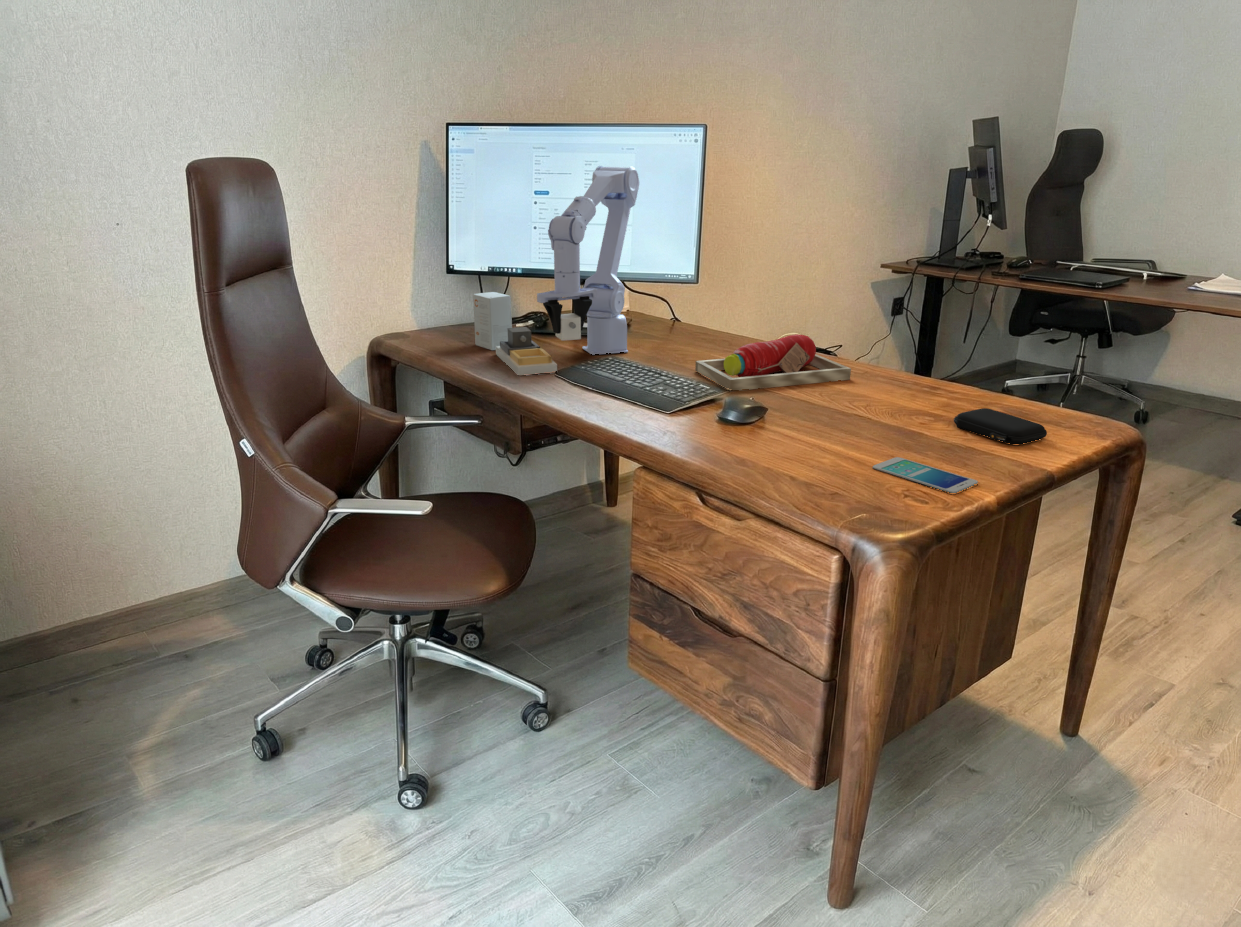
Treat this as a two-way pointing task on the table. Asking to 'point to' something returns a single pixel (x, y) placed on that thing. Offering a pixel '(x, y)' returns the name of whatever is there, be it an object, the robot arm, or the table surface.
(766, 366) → the water bottle
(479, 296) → the small box
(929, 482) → the smartphone
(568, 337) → the plug
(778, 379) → the desk tray
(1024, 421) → the carrying case or bag
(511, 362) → the white base platform
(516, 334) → the twin plug
